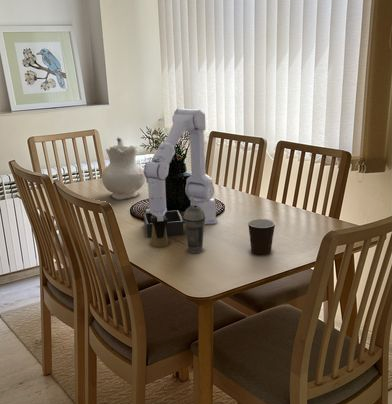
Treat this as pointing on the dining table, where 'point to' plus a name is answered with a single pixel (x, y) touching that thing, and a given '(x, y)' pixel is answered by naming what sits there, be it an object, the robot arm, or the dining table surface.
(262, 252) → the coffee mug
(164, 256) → the dining table surface
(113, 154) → the ceramic pitcher
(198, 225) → the beverage cup
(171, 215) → the bin
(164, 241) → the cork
